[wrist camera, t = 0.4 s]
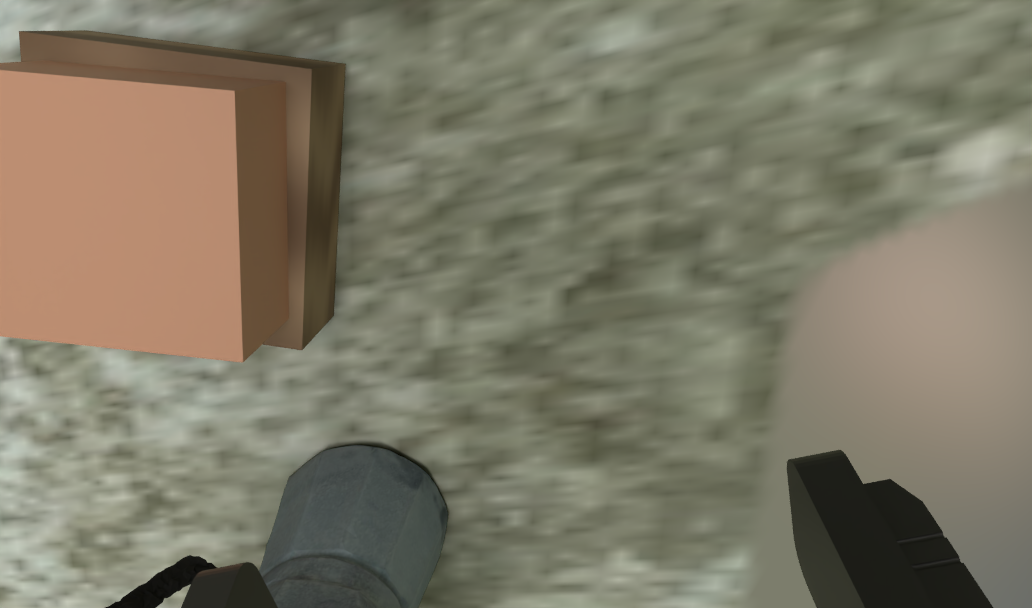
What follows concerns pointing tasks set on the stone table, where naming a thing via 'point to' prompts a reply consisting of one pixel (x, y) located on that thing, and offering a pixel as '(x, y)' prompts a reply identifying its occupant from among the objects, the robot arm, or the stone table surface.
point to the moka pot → (340, 536)
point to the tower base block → (308, 146)
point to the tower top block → (142, 209)
